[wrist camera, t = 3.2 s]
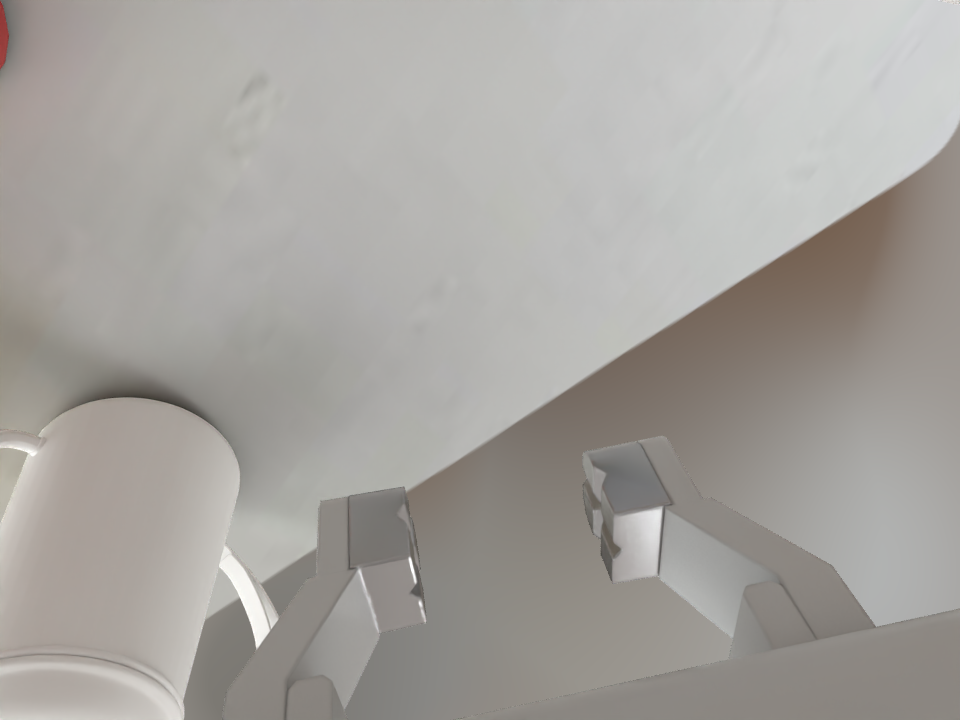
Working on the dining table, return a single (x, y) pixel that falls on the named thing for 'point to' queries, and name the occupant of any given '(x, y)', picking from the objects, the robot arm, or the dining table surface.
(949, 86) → the dining table surface
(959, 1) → the milk
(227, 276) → the dining table surface
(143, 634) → the coffeepot
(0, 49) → the beer can
